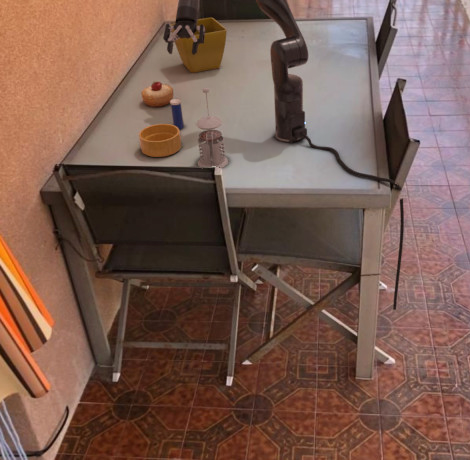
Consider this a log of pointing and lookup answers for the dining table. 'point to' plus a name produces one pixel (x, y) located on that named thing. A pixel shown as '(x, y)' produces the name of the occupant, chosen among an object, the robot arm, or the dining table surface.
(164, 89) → the pastry
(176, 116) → the vial
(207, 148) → the french press
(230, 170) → the dining table surface
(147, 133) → the bowl
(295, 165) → the dining table surface
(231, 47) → the dining table surface
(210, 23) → the flower pot
